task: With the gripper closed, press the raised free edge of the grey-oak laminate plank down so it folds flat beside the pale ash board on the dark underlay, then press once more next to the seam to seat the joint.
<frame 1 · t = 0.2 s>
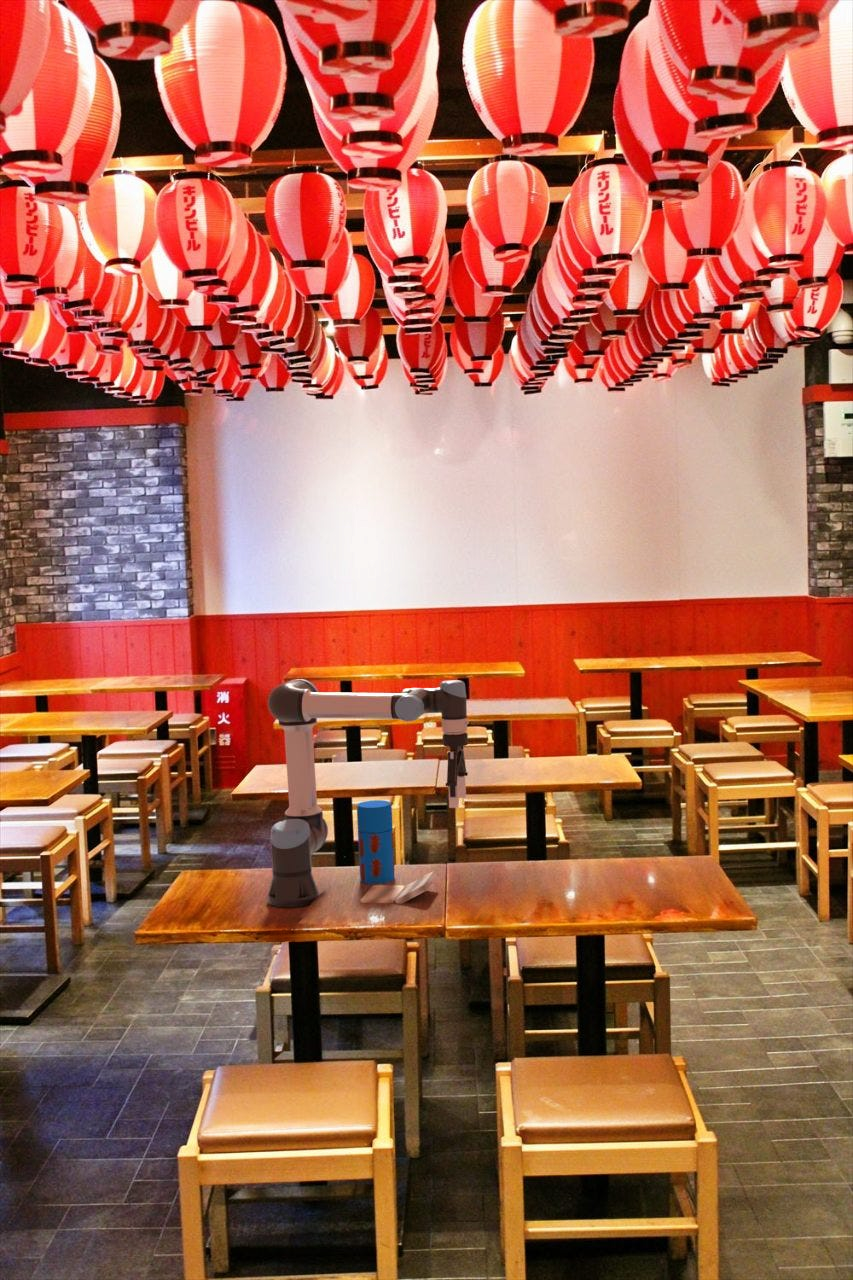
hand: (457, 802, 357), 27 cm above the table, fingers open, 13 cm apart
thermos: (377, 883, 372), on the table
floor board: (383, 899, 354), on the table
plank: (416, 887, 351), point 4 cm above the table, hinge at 28.0°
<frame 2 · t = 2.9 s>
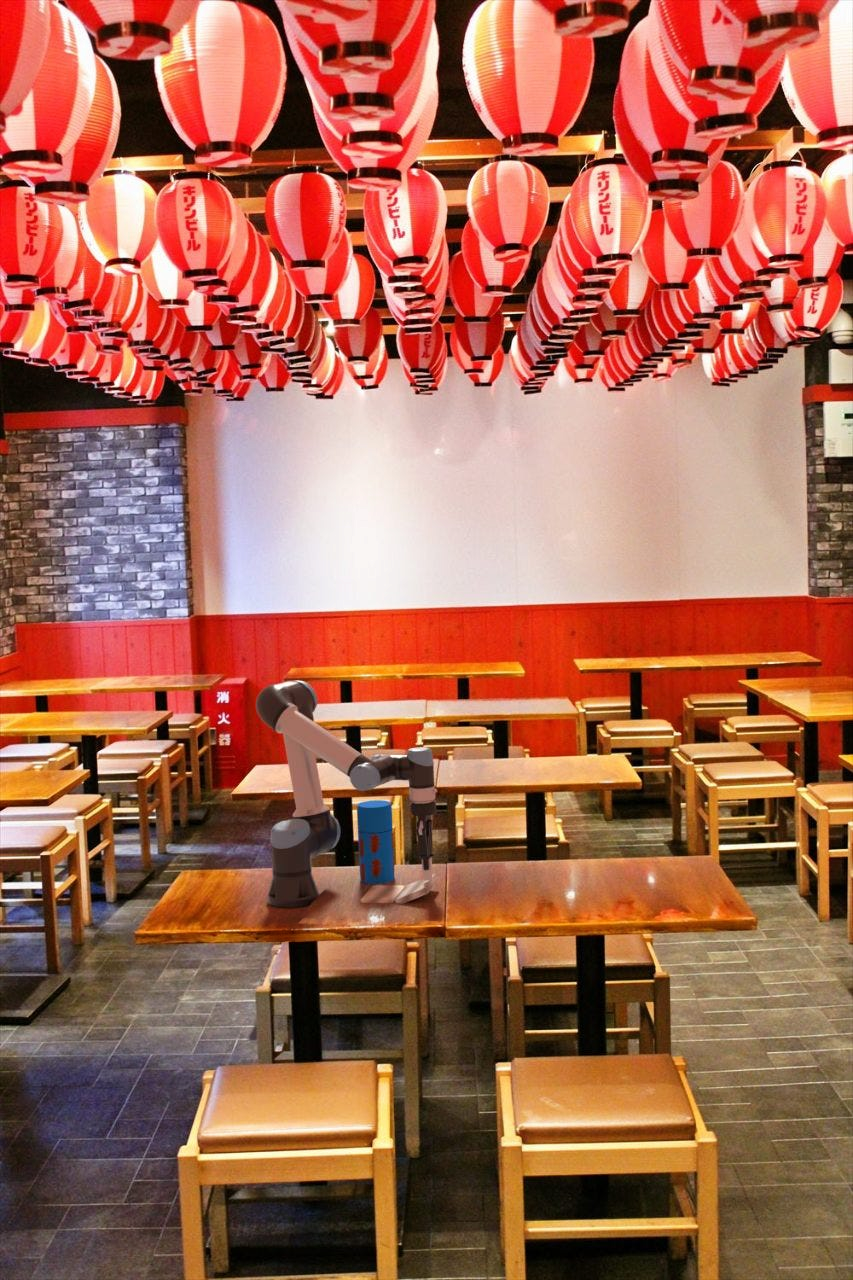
hand: (427, 879, 350), 6 cm above the table, fingers closed
plank: (416, 889, 351), point 3 cm above the table, hinge at 22.6°, touching gripper
everything else where it was.
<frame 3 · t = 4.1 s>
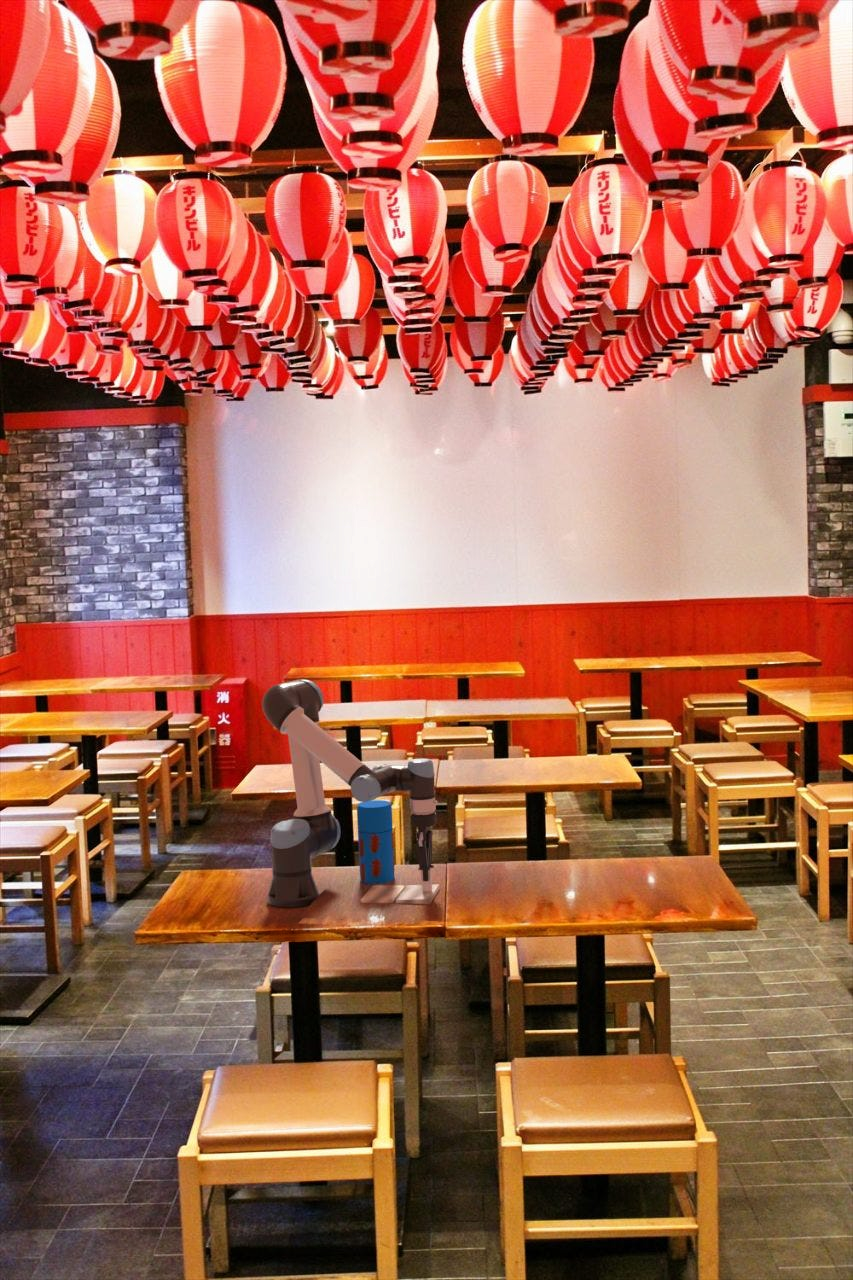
hand: (427, 890, 351), 3 cm above the table, fingers closed
plank: (418, 895, 351), point 2 cm above the table, hinge at 2.8°, touching gripper
everything else where it was.
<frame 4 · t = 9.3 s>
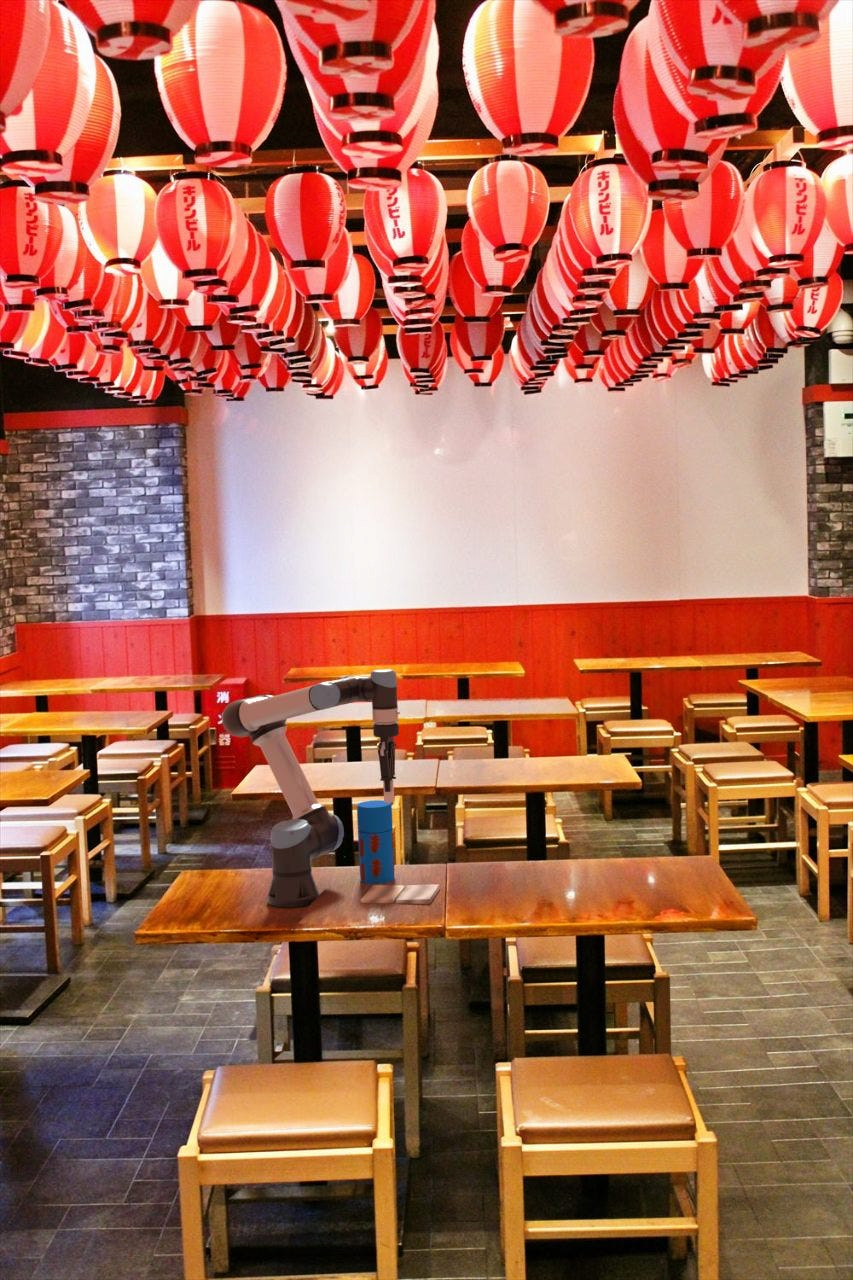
hand: (389, 801, 351), 29 cm above the table, fingers closed
plank: (418, 895, 351), point 2 cm above the table, hinge at 2.8°
everything else where it was.
at the end: plank at +3° (first picture: +28°); plank touching nothing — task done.
